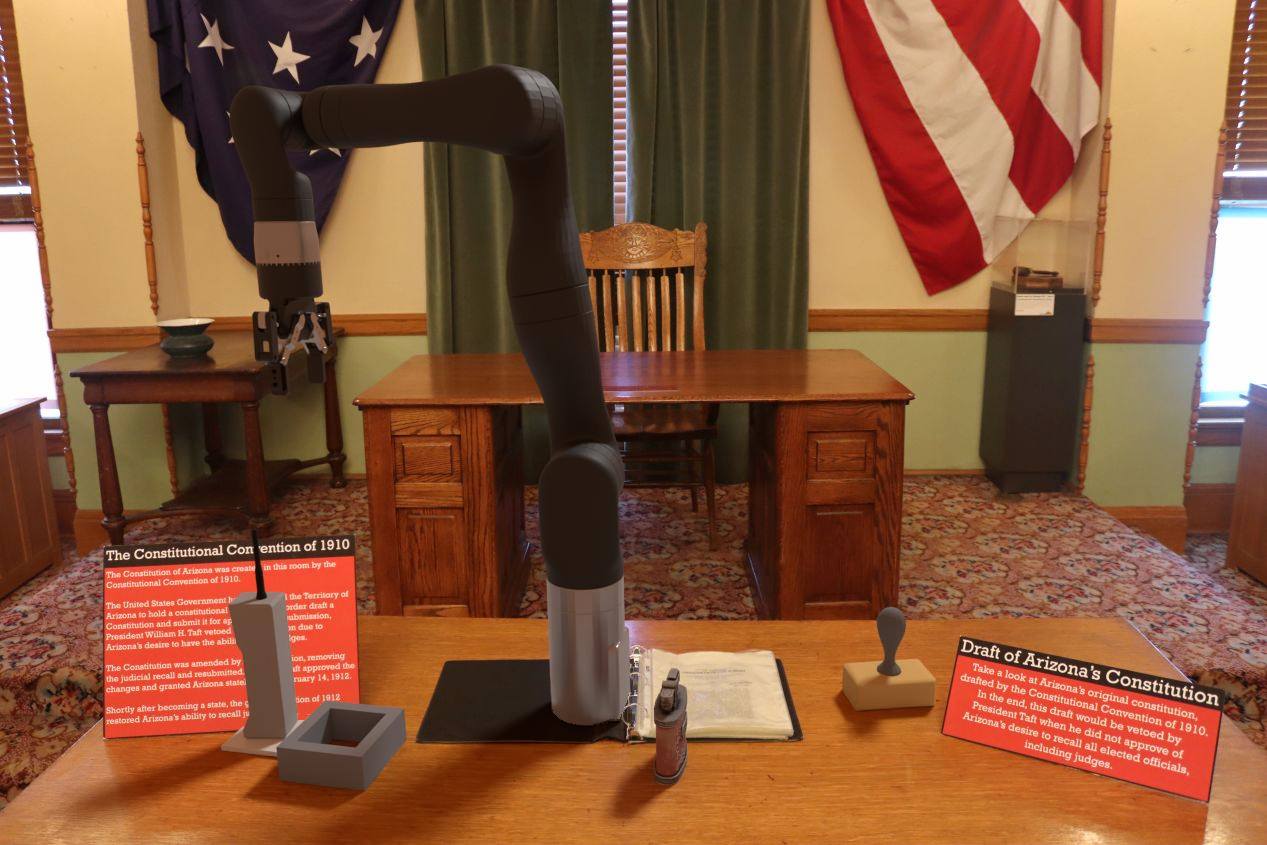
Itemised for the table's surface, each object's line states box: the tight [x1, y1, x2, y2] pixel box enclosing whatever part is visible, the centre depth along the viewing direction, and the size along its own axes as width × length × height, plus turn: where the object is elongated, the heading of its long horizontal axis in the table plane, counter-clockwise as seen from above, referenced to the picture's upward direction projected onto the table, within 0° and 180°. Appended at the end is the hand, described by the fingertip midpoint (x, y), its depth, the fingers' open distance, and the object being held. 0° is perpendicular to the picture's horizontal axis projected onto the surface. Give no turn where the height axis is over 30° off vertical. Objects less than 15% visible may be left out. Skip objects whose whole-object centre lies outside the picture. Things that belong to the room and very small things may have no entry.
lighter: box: [653, 667, 689, 786], centre depth 101 cm, size 8×3×10 cm, turn 168°
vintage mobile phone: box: [227, 528, 299, 738], centre depth 106 cm, size 4×5×25 cm
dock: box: [276, 700, 408, 792], centre depth 103 cm, size 10×10×4 cm
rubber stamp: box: [841, 606, 937, 712], centre depth 114 cm, size 10×6×12 cm, turn 96°
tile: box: [220, 720, 304, 758], centre depth 109 cm, size 8×8×1 cm
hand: (300, 388), depth 117 cm, fingers open, 8 cm apart
